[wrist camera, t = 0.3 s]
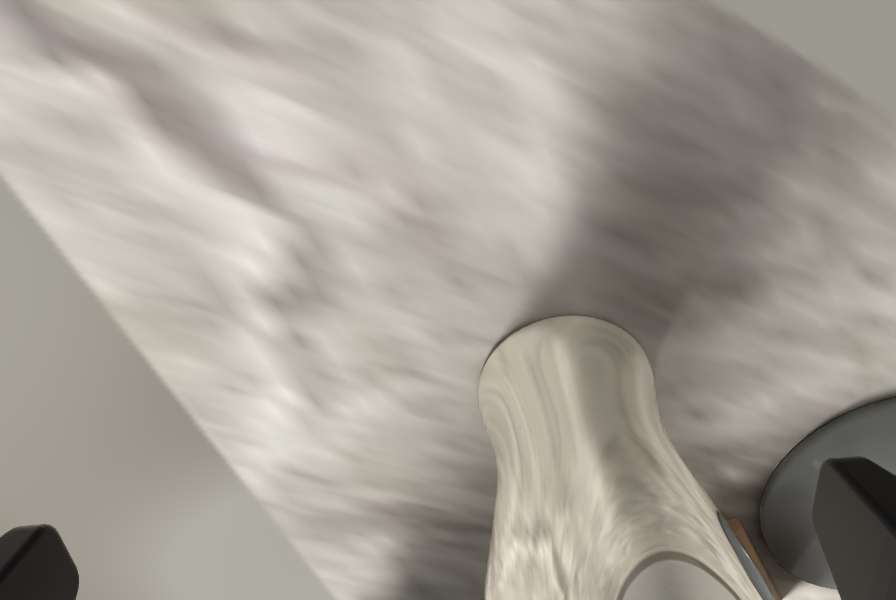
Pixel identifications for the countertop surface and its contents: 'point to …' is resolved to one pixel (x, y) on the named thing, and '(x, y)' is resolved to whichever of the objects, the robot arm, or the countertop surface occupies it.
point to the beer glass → (596, 478)
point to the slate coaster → (794, 482)
